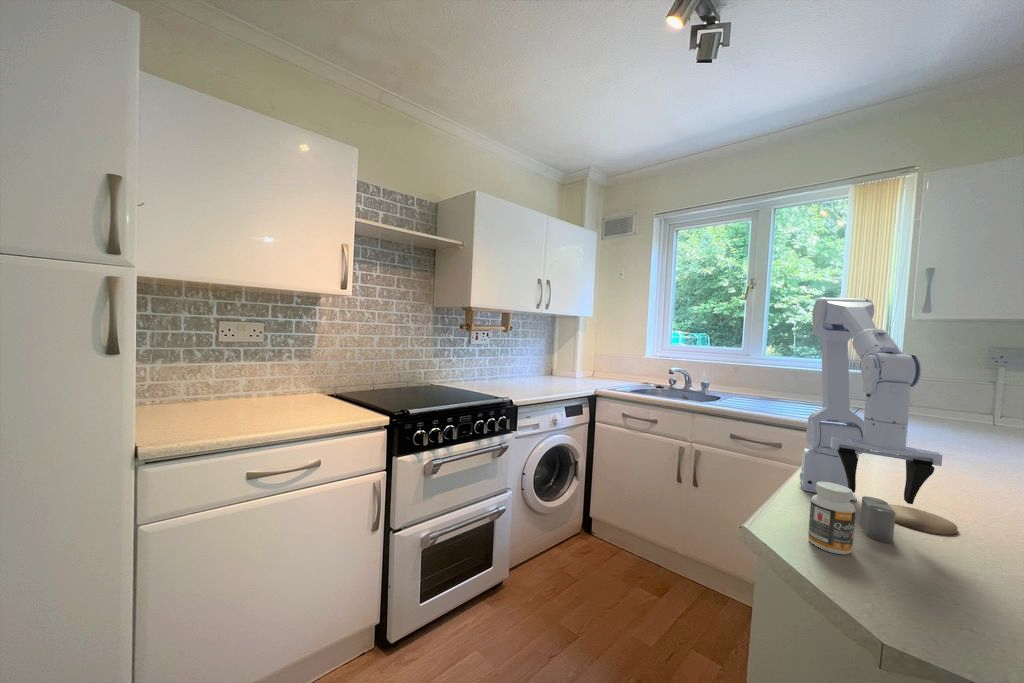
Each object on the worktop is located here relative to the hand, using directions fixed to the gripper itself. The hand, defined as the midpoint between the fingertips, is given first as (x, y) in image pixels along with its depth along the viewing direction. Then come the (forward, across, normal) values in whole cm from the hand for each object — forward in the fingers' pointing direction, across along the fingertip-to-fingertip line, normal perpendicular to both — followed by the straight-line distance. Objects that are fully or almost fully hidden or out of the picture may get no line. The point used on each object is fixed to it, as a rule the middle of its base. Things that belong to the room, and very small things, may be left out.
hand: (879, 496), depth 72 cm
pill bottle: (+7, -8, -12) cm, 16 cm away
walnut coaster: (+6, +8, +12) cm, 16 cm away
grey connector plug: (+7, 0, +1) cm, 7 cm away
